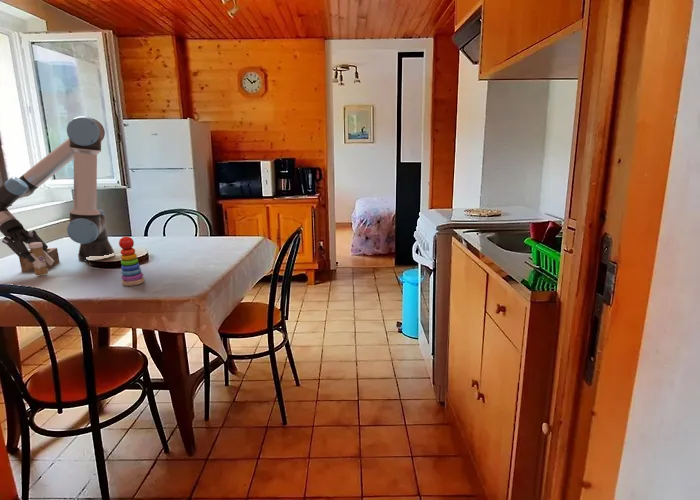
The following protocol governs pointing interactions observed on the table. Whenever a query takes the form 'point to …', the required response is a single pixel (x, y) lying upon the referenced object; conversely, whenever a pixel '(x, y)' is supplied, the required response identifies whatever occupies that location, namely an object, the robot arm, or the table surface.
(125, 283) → the stacking toy
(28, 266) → the walnut socket block
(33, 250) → the sprinkles bottle
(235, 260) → the table surface
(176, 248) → the table surface
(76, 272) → the table surface
